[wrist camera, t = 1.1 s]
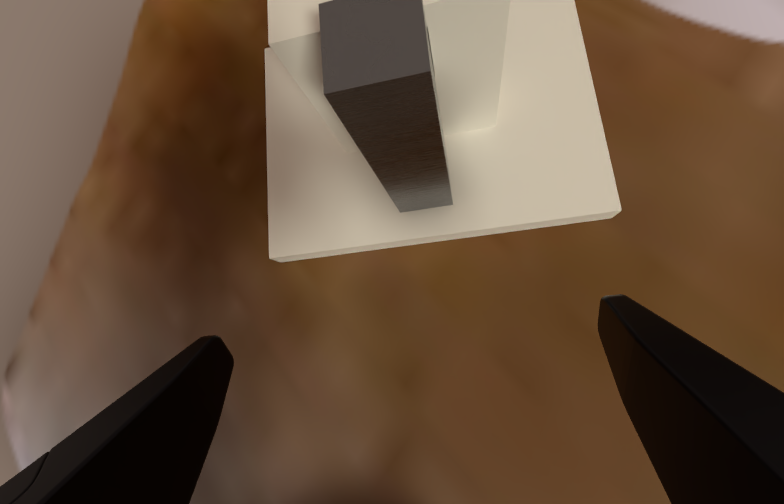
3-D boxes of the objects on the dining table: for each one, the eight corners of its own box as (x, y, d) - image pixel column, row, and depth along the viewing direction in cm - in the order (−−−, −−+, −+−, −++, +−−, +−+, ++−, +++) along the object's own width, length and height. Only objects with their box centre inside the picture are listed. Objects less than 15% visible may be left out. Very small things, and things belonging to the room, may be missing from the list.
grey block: (452, 204, 21) (430, 70, 10) (400, 212, 22) (323, 94, 11) (430, 28, 23) (392, -237, 12) (383, 39, 24) (306, -205, 13)
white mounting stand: (611, 218, 21) (750, 110, 10) (280, 262, 25) (137, 215, 14) (562, -6, 24) (631, -264, 14) (275, 62, 28) (154, -98, 17)
